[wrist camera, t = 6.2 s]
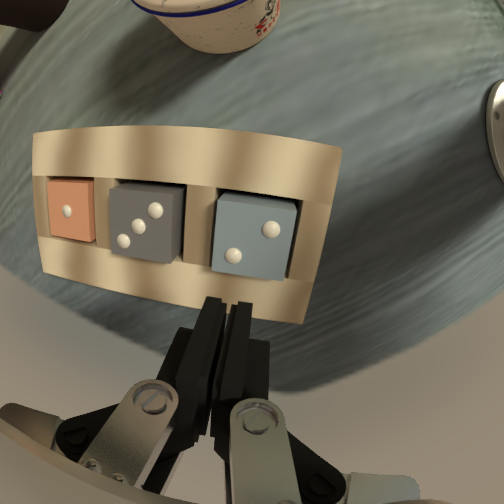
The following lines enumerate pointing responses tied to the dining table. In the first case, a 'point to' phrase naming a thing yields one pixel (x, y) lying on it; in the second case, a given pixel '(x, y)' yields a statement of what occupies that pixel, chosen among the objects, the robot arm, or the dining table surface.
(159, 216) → the key three
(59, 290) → the dining table surface
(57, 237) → the wooden puzzle board
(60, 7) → the bottle
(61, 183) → the key one
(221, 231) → the key two
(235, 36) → the teacup with lid
